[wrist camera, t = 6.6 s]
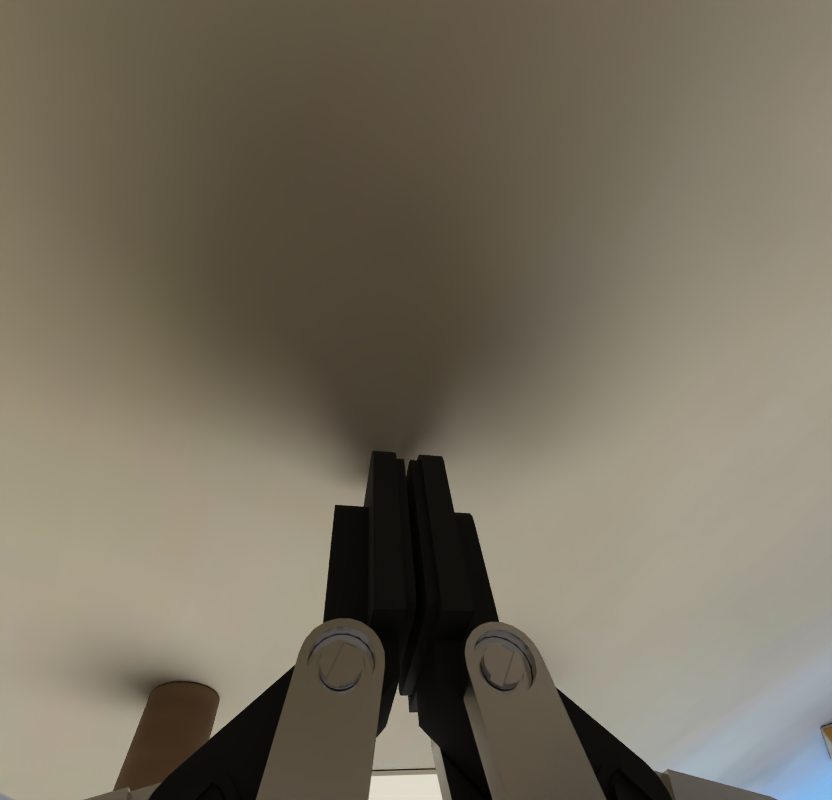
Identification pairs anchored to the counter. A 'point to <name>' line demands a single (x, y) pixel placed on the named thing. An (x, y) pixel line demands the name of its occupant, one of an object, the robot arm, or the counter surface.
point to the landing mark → (405, 785)
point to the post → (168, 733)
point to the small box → (828, 737)
